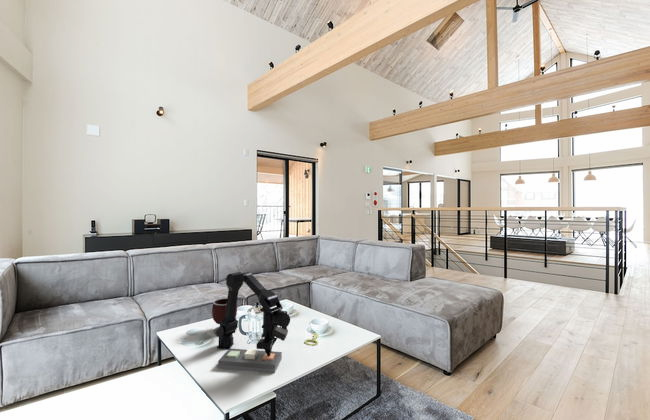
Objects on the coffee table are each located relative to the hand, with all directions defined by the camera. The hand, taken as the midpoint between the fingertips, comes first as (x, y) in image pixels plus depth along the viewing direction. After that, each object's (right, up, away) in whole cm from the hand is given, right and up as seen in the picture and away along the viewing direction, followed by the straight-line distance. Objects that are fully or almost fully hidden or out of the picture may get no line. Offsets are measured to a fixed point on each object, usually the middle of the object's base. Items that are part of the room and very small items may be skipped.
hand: (268, 355), depth 142 cm
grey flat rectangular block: (-8, -4, +1) cm, 10 cm away
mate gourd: (-33, -3, +39) cm, 51 cm away
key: (+19, -5, +27) cm, 33 cm away
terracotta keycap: (0, -2, 0) cm, 2 cm away
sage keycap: (-17, -2, +2) cm, 17 cm away
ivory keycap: (-8, -1, +1) cm, 9 cm away
